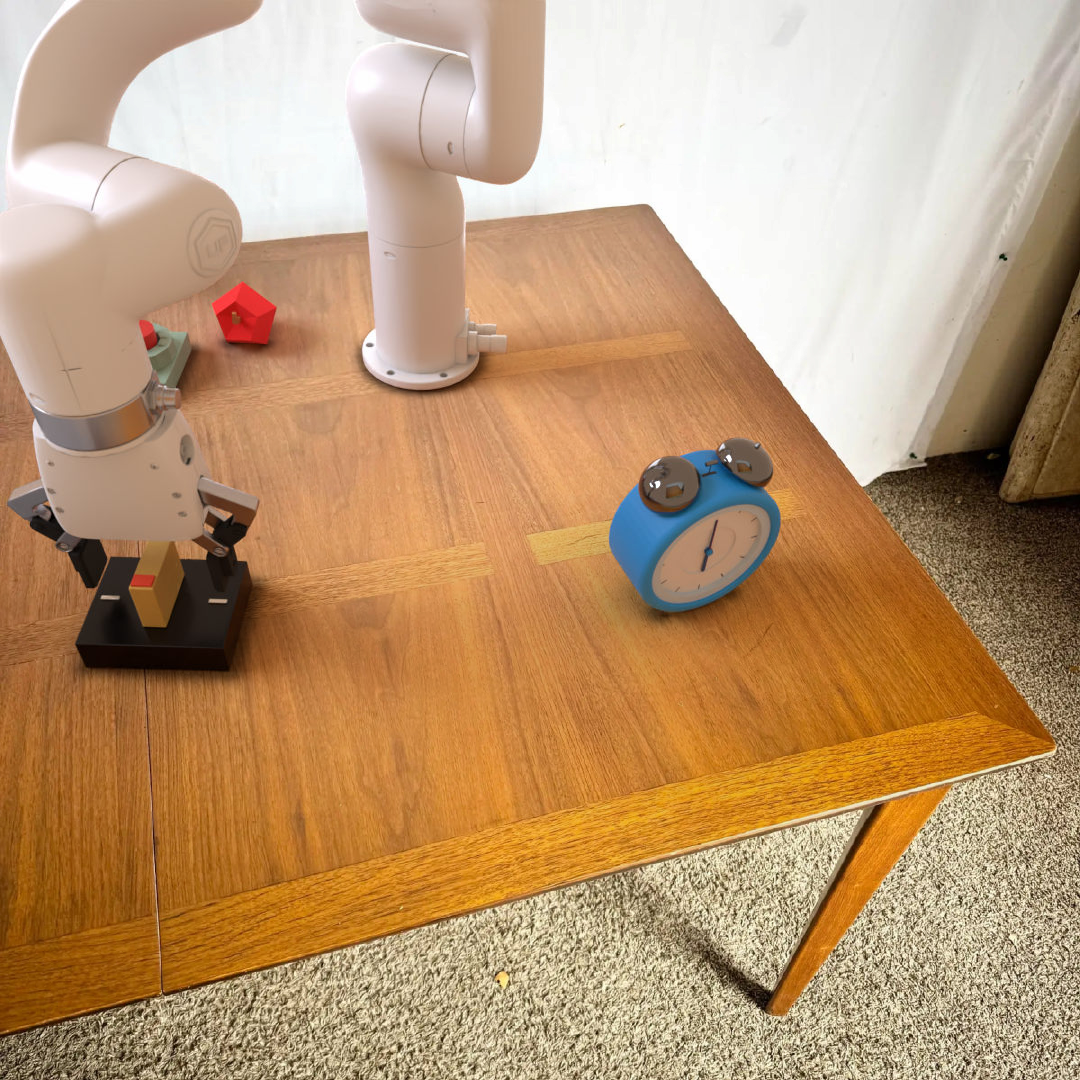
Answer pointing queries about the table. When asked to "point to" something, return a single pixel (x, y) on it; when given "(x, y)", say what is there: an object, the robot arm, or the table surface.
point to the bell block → (169, 355)
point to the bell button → (148, 334)
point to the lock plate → (192, 631)
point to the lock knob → (157, 583)
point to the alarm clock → (697, 525)
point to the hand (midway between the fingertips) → (161, 576)
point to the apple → (244, 315)
